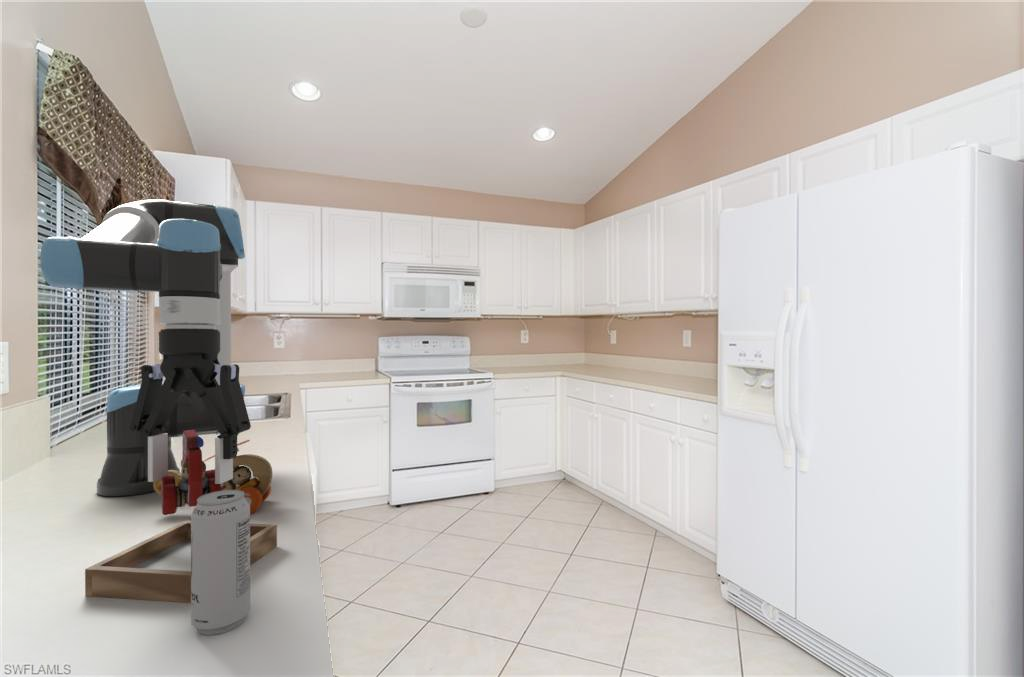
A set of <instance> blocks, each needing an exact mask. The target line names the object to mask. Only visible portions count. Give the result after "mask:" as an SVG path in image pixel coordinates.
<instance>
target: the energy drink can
mask: <svg viewBox="0 0 1024 677" xmlns="http://www.w3.org/2000/svg"><path fill="white" fill-rule="evenodd" d="M190 521H191V603H190V604H191V605H190V608H191V609H190V617H191V620H190V623H191V626H192V627H193V628H195V629H196V631H197V633H199V634H201V635H204V636H212V635H213V636H214V635H219V634H224V633H227V632H229V631H232V630H233V629H235V628H237V627H238V626H240V625H241V624H242V623H243V622H244V621H245V619H246V615H247V614H248V613H249V612H250V610H251V565H250V523H251V513H250V505H249V503H248V502H247V501H246V499H245V498H244V492H243V491H240V490H224V491H217V492H212V493H208V494H205V495H203V496H201V497H199V498H198V499H197V505H196V506H194V509H193V511H192V512H191V514H190Z"/></svg>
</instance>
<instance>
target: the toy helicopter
mask: <svg viewBox="0 0 1024 677" xmlns="http://www.w3.org/2000/svg"><path fill="white" fill-rule="evenodd" d="M247 442H248V443H249V442H250V439H247V440H243V441H241V442H239V443H238V442H237V453H238V452H240V450H239V447H238V446H241V445H243V444H246V443H247ZM212 458H215V454H214V455H212V456H210V457H208V458H206V459H205V460H203V462H206V461H208V460H210V459H212ZM213 470H215V468H214V469H213ZM172 475H173V476H174V477H175V485H176V486H178V482H179V480H181V479H182V474H181V471H180V472H179V471H176V470H168V476H172ZM252 476H253V478H252ZM203 477H204V475H203ZM272 480H273V467H272V465H271V463H270V462H269V461H268V460H267V459H266V458H264V457H263V456H260V455H257V454H251V453H249V454H239V455H237V456H236V457H234V458H233V479H231V480H228V481H226V482H224V483H221V491H224V490H240V491H243V492H244V498H245V499H246V501H247V502H248V503H249V505H250V514H253V513H254V512H256V511H257V510H258V509H259V508H260V507H261V505H262V503H263V502H264V501H265V500H267V498H268V497H269V496H270V494H271V492H272V489H271V487H272V486H271V483H272ZM161 484H162V479H159V480H157V481H154V482H153V487H154V490H155V491H154V492H155V493H156V494H157V495H159V496H160V497H162V494H161Z"/></svg>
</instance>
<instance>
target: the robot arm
mask: <svg viewBox="0 0 1024 677" xmlns="http://www.w3.org/2000/svg"><path fill="white" fill-rule="evenodd" d="M242 233H243V232H242V226H241V220H240V215H239V213H238V211H237V210H235V209H234V208H231V207H225V206H221V205H216V204H205V203H194V202H185V201H173V200H168V199H144V200H137V201H132V202H128V203H124V204H121V205H118V206H116V207H115V208H112V209H111V210H109V211H108V212H107V213H105V215H104V217H103V219H102V222H101V224H100V225H98V226H97V227H96V228H94V229H93V230H90V232H89V233H87V234H86V235H84V236H82V237H81V238H80V237H73V236H65V237H63V236H51V237H47V238H46V239H45V240H44V241H43V242H42V244H41V248H40V257H39V258H40V259H39V260H40V268H41V269H40V270H41V272H42V273H41V274H42V276H43V279H44V280H45V282H46V283H47V285H49V286H51V287H54V288H62V289H75V290H77V291H79V290H95V291H96V290H100V291H102V290H103V291H130V292H132V291H133V292H151V293H152V292H154V293H158V314H159V315H158V321H159V322H158V324H159V325H160V326H163V328H162V329H160V331H158V352H159V354H160V355H162V361H161V363H160V364H159V363H155V364H143V365H141V367H140V372H141V373H140V374H141V375H140V376H141V382H140V384H135V385H129V386H125V387H119V388H116V389H114V390H112V391H110V393H109V394H108V396H107V401H106V402H107V403H106V410H105V413H106V444H107V445H106V458H105V461H104V464H103V467H102V470H101V474H100V477H98V479H97V481H96V494H97V495H99V496H102V497H103V496H104V497H124V496H134V495H142V494H146V493H152V492H153V493H154V492H155V490H154V487H153V482H154V481H157V480H159V479H162V478H163V477H165V476H168V470H176V471H179V472H180V473H181V469H180V468H179V467H178V463H177V461H176V458H175V456H174V453H173V450H172V438H179V437H180V438H181V437H182V438H183V432H184V431H186V430H195V431H196V433H197V434H198V436H203V435H217V436H216V437H215V438H214V455H215V457H214V469H215V484H221V483H224V482H226V481H228V480H231V479H233V470H234V469H233V458H234V457H236V456H238V452H237V447H238V446H237V444H238V436H239V434H241V433H243V432H246V431H248V430H250V429H251V428H252V427H251V426H252V425H251V421H250V418H249V414H248V411H247V407H246V403H245V392H246V385H245V384H243V383H240V366H239V365H238V364H237V363H236V364H234V363H233V364H232V272H233V271H234V270H236V269H237V267H239V260H243V259H245V258H246V254H245V248H244V246H245V245H244V240H243V238H244V237H243V234H242ZM163 378H165V379H164V381H163Z"/></svg>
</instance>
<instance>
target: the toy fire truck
mask: <svg viewBox="0 0 1024 677" xmlns="http://www.w3.org/2000/svg"><path fill="white" fill-rule="evenodd" d="M181 440H182V445H181V446H182V459H181V461H180V467H181V469H180V473H181V474H182V479H181V480H179V482H178V486H176V485H175V477H174V476H173V475H172V476H165V477H163V478H162V484H161V494H162V496H161V513H162V515H163V516H169V515H174V514H176V512H177V510H178V509H177V508H181V507H185V505H187V506H189V507H196V505H197V499H198V498H199V497H201V496H203V495H205V494H208V493H212V492H217V491H221V484H215V470H214V469H210V470H207V465H206V463H205V461H204V460H203V452H202V447H204V444H205V443H204V439H203V438H202V437H201V436H200V435H198V434H197V433H196V431H195V430H186V431H184V432H183V437H182V439H181ZM203 475H204V477H203Z"/></svg>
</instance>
